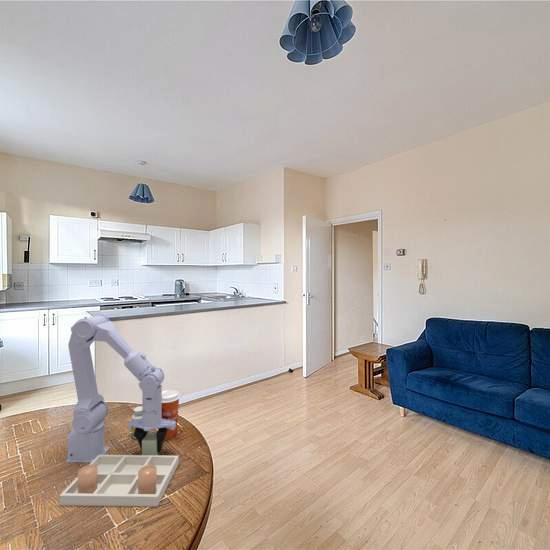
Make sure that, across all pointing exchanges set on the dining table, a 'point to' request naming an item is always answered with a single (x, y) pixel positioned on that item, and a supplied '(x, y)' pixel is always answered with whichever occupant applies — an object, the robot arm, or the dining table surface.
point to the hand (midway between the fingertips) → (151, 450)
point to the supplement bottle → (137, 417)
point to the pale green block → (149, 444)
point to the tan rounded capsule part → (147, 480)
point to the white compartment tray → (122, 481)
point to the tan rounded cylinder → (88, 479)
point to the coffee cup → (170, 410)
